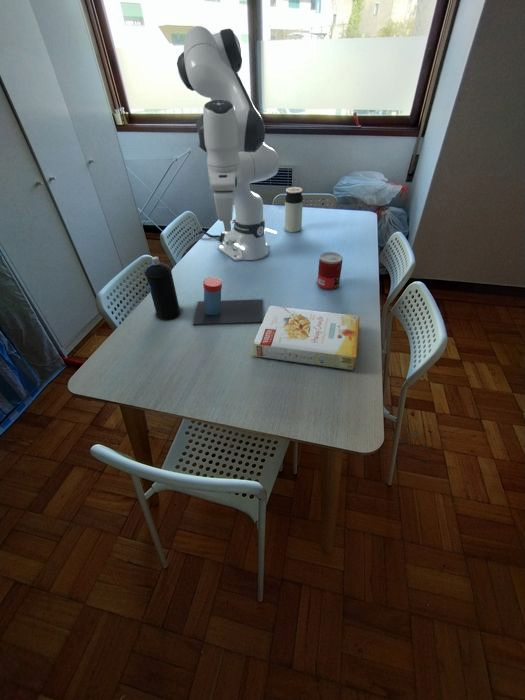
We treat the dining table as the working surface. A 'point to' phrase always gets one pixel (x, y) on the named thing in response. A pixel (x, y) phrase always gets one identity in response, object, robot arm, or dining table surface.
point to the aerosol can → (162, 290)
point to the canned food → (329, 270)
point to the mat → (231, 313)
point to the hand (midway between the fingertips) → (228, 224)
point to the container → (212, 295)
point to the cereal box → (308, 337)
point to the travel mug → (293, 209)
